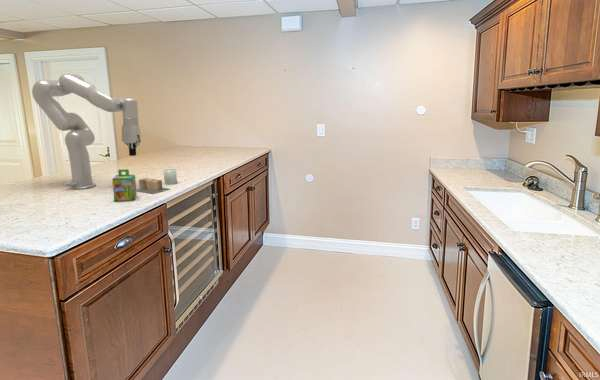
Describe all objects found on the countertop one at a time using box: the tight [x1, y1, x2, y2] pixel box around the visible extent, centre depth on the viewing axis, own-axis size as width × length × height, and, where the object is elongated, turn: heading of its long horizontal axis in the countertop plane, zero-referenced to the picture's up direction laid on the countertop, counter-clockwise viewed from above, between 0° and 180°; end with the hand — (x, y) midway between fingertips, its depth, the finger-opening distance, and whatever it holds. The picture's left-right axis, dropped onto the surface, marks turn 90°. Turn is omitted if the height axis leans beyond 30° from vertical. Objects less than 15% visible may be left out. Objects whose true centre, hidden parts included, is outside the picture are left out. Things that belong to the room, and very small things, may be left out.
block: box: [138, 177, 164, 191], centre depth 205 cm, size 5×5×12 cm
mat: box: [136, 187, 171, 195], centre depth 204 cm, size 12×14×1 cm
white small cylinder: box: [163, 168, 178, 186], centre depth 219 cm, size 7×7×8 cm
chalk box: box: [111, 169, 137, 202], centre depth 184 cm, size 9×9×15 cm
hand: (132, 155), depth 206 cm, fingers closed
